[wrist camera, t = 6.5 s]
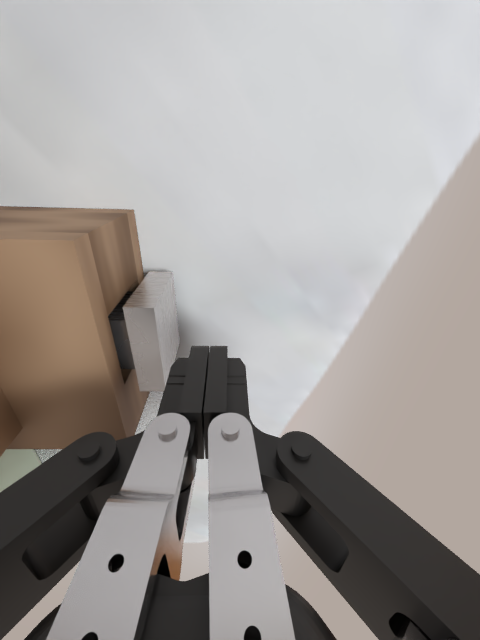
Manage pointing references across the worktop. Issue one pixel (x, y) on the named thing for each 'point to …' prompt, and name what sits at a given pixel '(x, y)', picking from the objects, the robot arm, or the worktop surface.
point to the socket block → (65, 325)
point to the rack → (16, 465)
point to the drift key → (147, 330)
